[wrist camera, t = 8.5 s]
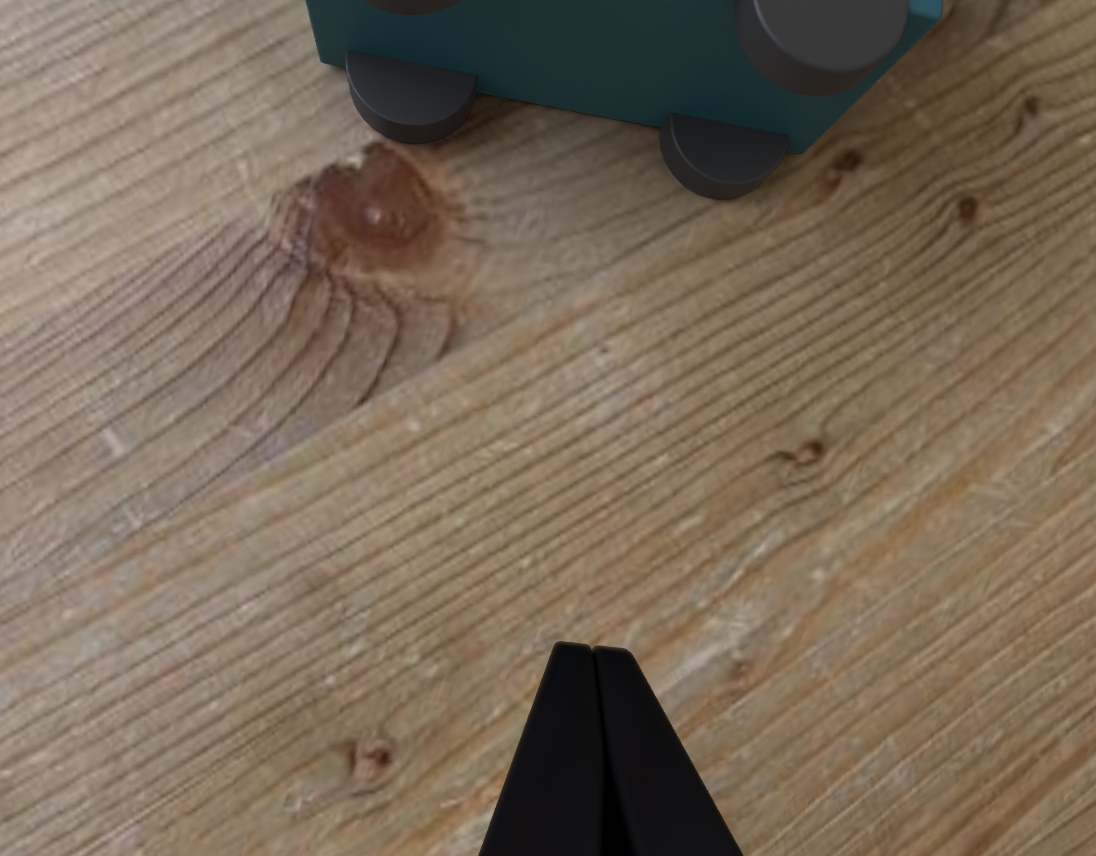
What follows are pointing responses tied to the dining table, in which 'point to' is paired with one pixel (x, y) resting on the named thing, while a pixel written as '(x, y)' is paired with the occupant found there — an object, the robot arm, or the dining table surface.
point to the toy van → (627, 68)
